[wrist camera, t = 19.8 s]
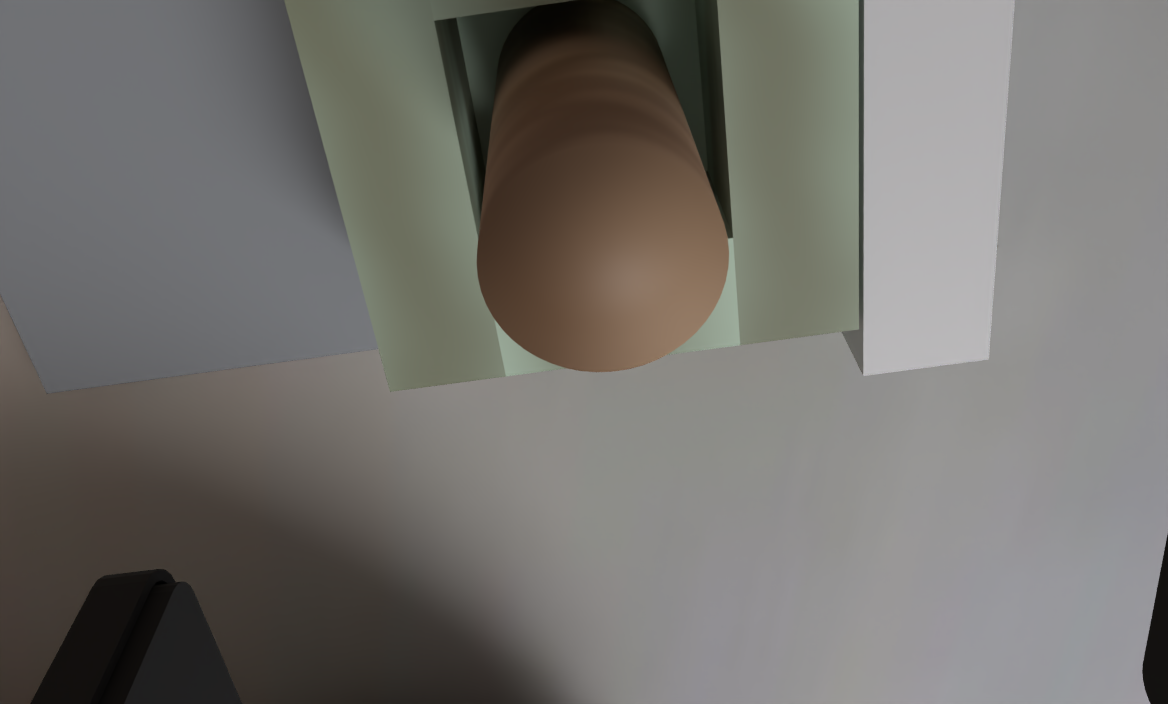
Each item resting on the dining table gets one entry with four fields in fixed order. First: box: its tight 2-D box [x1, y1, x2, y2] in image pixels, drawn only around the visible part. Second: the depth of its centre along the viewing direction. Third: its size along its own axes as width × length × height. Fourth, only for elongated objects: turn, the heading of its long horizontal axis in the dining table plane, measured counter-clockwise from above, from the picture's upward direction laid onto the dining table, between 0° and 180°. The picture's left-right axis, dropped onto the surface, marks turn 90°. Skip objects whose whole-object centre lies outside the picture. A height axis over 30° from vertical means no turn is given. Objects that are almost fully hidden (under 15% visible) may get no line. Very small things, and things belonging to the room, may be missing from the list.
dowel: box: [477, 0, 729, 372], centre depth 21 cm, size 4×4×10 cm
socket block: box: [284, 0, 859, 392], centre depth 24 cm, size 11×11×5 cm
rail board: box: [0, 0, 1015, 394], centre depth 25 cm, size 26×14×5 cm, turn 98°
